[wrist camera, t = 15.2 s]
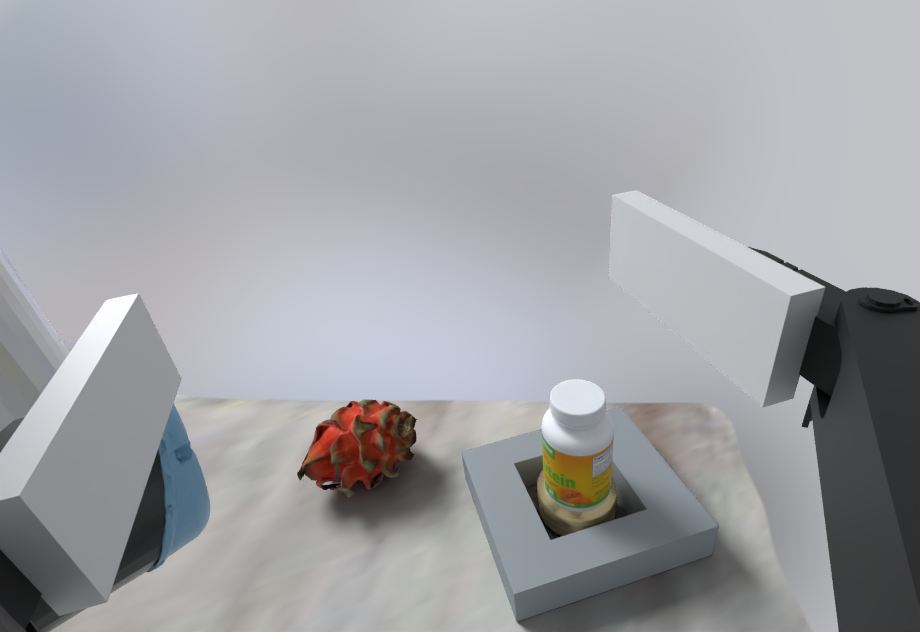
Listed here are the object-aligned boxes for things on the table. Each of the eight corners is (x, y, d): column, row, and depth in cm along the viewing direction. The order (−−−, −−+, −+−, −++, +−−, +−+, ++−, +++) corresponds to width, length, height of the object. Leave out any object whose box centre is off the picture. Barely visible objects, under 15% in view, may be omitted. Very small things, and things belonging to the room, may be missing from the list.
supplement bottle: (530, 486, 43) (524, 397, 38) (572, 451, 46) (572, 364, 41) (581, 526, 40) (583, 433, 35) (624, 486, 42) (631, 394, 37)
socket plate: (516, 622, 37) (513, 594, 36) (465, 478, 49) (461, 451, 47) (712, 555, 40) (718, 526, 38) (619, 433, 52) (620, 406, 50)
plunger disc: (556, 549, 41) (556, 529, 40) (527, 487, 46) (525, 468, 45) (630, 525, 42) (632, 505, 41) (593, 468, 47) (593, 448, 46)
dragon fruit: (436, 462, 53) (327, 521, 51) (399, 390, 56) (294, 443, 54) (436, 450, 46) (307, 519, 43) (394, 367, 48) (270, 428, 46)
